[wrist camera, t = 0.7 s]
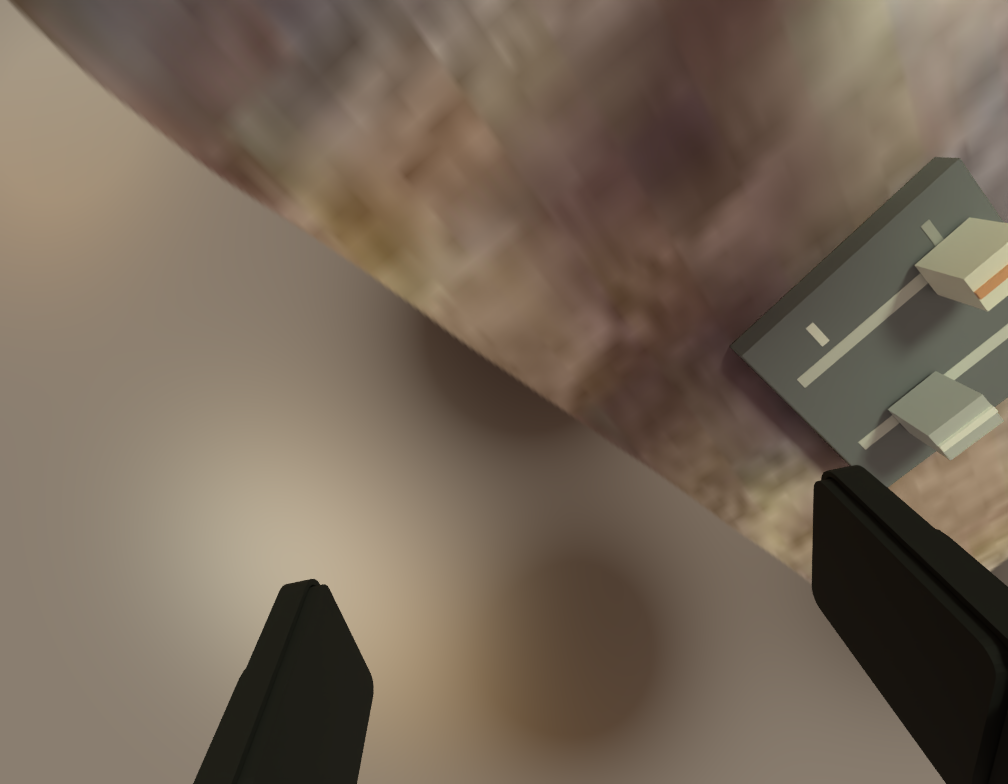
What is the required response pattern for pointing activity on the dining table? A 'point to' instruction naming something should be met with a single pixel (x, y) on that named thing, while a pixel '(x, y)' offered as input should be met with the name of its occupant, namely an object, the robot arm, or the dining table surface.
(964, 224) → the fader
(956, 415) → the fader
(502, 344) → the dining table surface
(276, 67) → the dining table surface
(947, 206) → the console
